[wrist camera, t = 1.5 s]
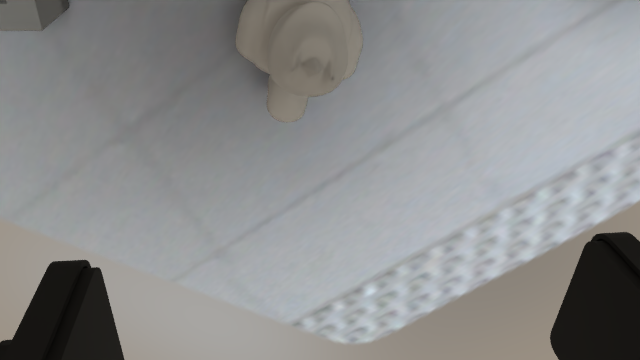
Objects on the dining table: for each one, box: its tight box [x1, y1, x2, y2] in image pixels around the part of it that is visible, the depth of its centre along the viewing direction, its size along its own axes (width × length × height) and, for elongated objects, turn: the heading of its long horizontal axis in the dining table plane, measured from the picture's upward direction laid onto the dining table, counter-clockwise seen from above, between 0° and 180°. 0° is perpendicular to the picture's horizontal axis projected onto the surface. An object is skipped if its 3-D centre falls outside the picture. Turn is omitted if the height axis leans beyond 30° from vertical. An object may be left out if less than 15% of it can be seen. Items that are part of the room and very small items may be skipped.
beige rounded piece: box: [235, 0, 363, 122], centre depth 21 cm, size 5×7×8 cm
